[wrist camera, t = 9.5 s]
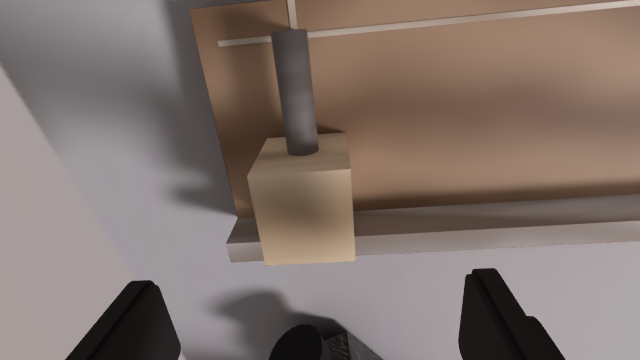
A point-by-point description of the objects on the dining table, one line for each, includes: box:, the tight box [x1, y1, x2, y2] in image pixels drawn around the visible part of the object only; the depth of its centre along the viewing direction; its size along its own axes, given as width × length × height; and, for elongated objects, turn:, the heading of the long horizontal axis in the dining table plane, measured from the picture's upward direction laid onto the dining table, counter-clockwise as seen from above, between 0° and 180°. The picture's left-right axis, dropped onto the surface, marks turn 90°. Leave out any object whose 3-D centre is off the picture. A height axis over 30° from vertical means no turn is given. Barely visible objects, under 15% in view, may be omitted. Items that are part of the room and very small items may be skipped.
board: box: [189, 0, 640, 262], centre depth 16 cm, size 12×25×4 cm, turn 95°
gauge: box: [247, 29, 356, 266], centre depth 15 cm, size 9×4×4 cm, turn 5°
